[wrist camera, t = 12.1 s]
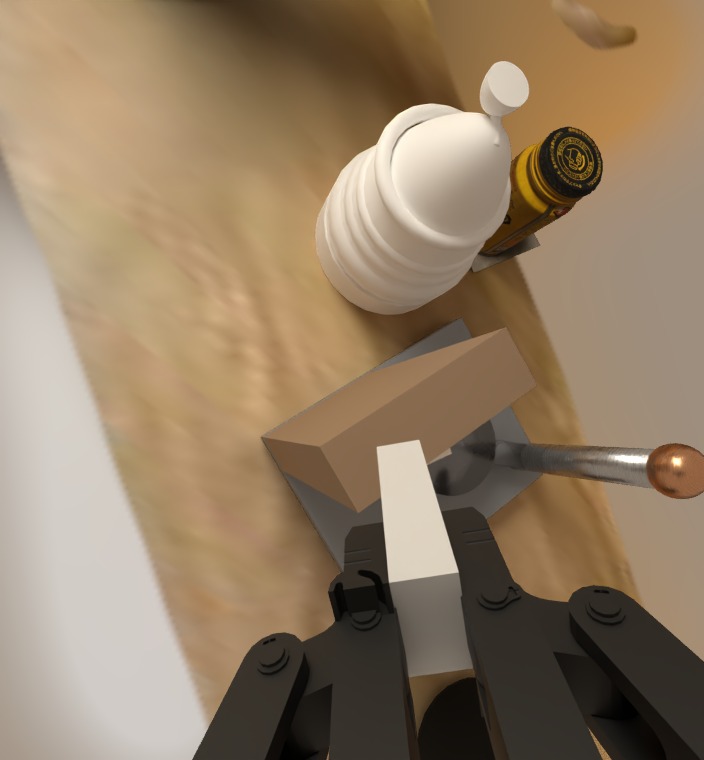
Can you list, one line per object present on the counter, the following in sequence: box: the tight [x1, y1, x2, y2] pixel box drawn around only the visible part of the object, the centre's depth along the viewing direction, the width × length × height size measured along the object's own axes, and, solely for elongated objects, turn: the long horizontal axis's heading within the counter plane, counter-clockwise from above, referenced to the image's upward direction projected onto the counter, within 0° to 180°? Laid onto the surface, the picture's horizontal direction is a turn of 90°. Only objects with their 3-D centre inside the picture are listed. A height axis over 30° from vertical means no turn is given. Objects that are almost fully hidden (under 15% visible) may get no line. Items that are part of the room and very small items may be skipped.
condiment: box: [471, 127, 603, 273], centre depth 40 cm, size 7×8×12 cm
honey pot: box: [315, 61, 529, 315], centre depth 33 cm, size 13×13×18 cm
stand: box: [261, 317, 543, 572], centre depth 31 cm, size 16×20×20 cm
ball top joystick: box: [427, 419, 704, 499], centre depth 32 cm, size 12×10×16 cm
